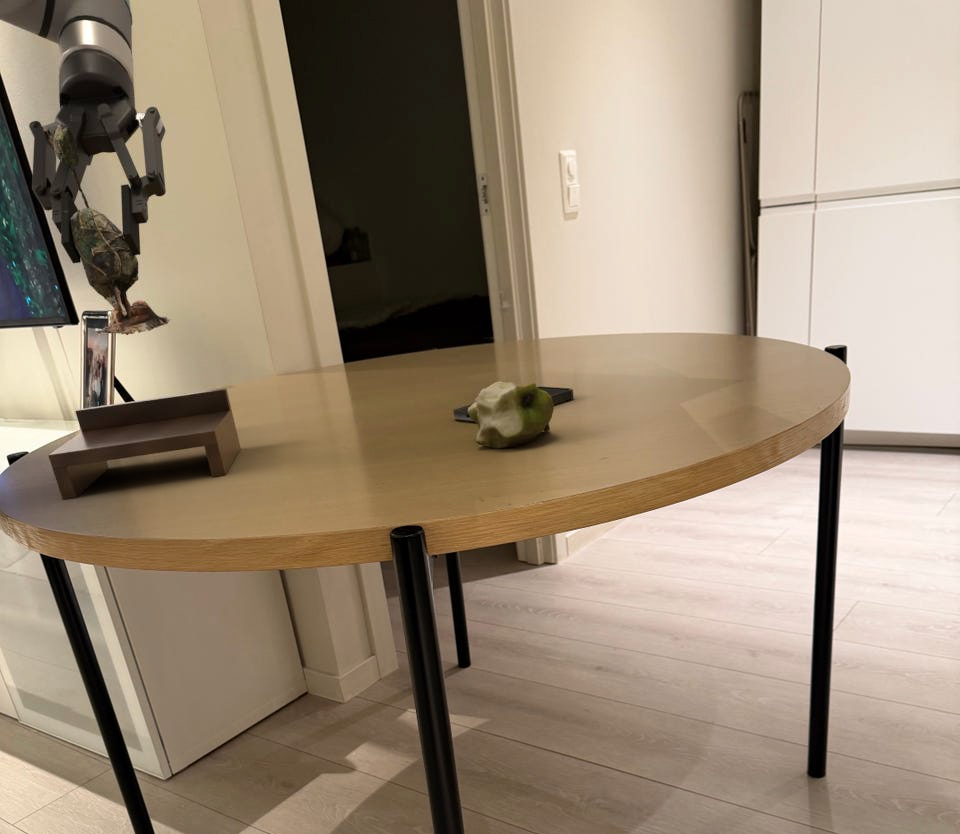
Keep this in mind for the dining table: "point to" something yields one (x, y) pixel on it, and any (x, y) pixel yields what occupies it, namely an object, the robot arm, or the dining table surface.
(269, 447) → the dining table surface
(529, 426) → the fruit
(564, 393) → the phone
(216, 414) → the bench
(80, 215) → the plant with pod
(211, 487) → the dining table surface
